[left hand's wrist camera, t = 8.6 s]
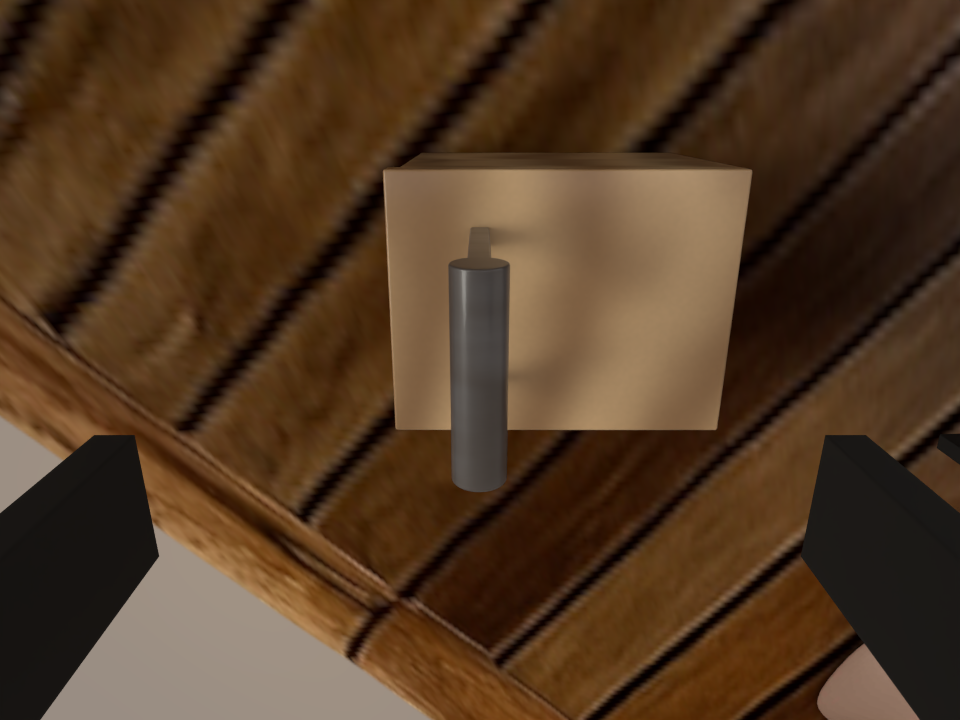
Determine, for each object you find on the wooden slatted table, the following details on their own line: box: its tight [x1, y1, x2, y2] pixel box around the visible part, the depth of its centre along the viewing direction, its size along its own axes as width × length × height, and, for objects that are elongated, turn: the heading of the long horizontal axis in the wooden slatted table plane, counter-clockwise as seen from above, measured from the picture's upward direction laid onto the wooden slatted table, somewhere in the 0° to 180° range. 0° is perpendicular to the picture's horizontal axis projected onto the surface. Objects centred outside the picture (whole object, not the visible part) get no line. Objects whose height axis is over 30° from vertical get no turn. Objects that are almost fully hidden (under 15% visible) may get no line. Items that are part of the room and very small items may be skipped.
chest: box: [401, 153, 738, 167], centre depth 31 cm, size 13×10×10 cm
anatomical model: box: [817, 644, 920, 720], centre depth 43 cm, size 13×4×12 cm
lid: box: [383, 167, 752, 492], centre depth 22 cm, size 13×10×9 cm
